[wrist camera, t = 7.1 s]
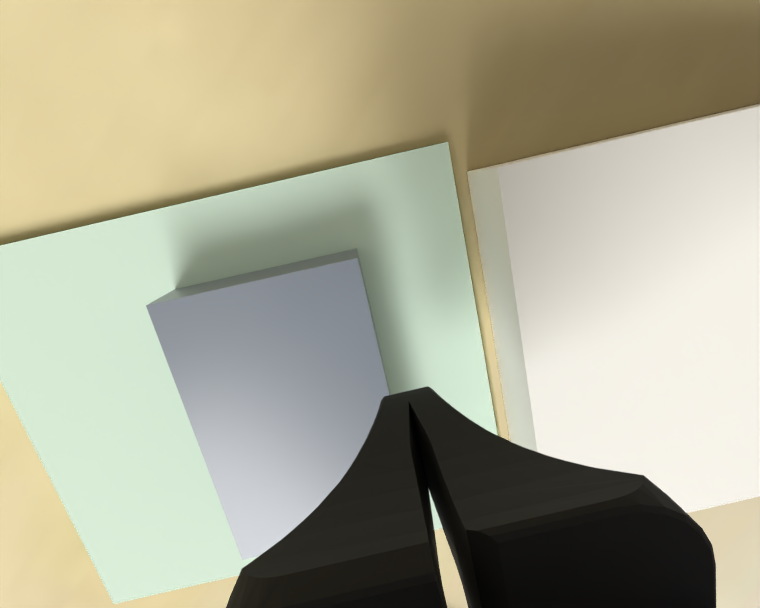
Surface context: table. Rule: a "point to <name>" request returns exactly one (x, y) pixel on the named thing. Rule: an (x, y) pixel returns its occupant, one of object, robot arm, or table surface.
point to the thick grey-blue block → (275, 385)
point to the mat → (152, 373)
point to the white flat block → (633, 303)
